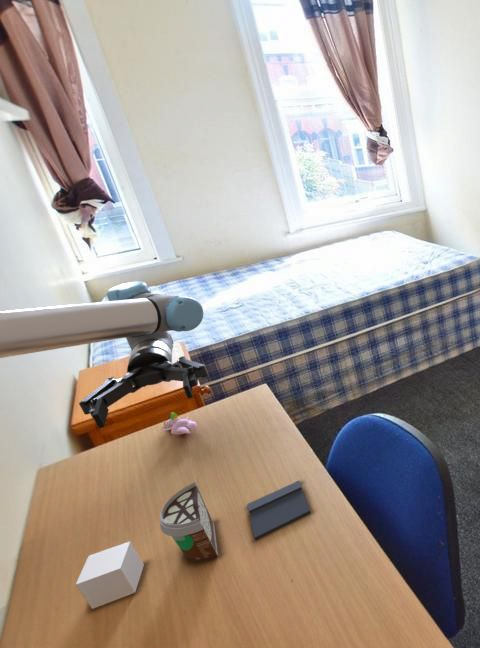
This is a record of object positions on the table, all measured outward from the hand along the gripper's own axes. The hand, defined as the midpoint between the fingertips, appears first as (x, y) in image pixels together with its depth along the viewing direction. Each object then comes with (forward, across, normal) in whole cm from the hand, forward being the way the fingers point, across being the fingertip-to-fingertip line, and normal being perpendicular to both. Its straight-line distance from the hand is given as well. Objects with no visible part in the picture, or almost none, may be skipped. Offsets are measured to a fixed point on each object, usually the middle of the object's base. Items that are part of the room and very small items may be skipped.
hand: (144, 406), depth 85 cm
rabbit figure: (-34, +2, -26) cm, 43 cm away
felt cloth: (+12, -14, -26) cm, 32 cm away
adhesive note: (+12, +12, -26) cm, 31 cm away
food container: (+12, 0, -26) cm, 28 cm away
